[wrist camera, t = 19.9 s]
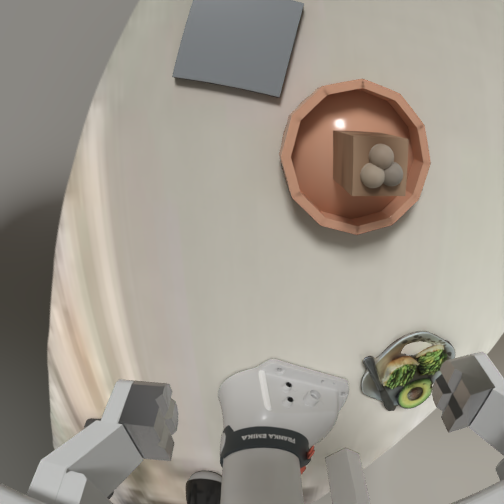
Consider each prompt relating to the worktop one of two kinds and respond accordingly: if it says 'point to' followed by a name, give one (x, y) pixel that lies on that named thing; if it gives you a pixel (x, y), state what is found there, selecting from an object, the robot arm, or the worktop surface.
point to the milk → (346, 478)
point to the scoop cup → (370, 163)
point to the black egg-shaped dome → (204, 488)
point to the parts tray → (239, 43)
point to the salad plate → (405, 371)
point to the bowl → (321, 153)
